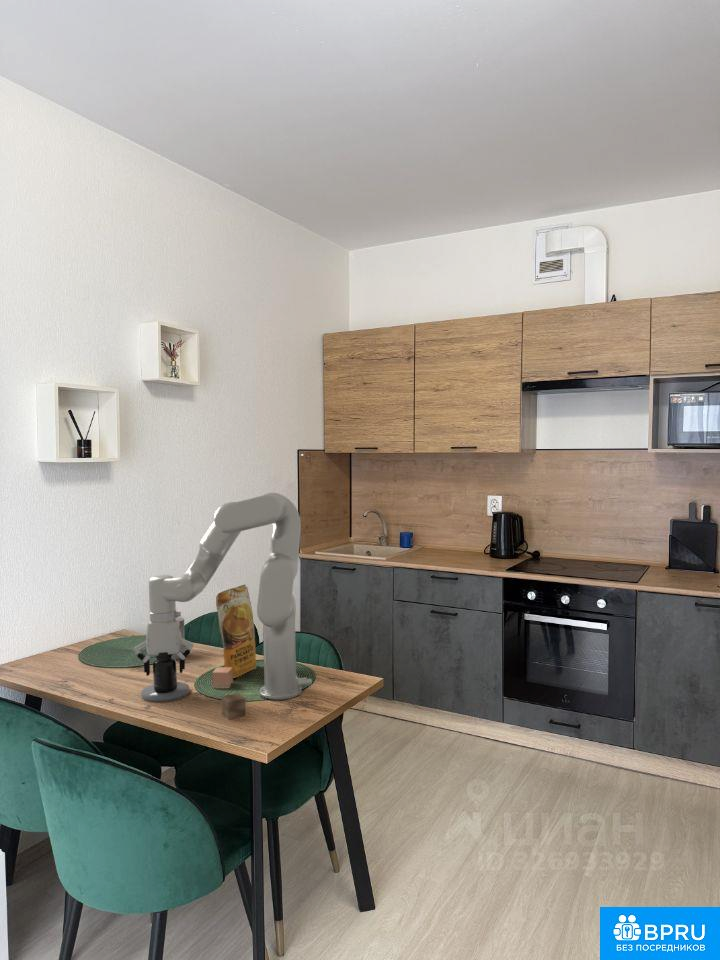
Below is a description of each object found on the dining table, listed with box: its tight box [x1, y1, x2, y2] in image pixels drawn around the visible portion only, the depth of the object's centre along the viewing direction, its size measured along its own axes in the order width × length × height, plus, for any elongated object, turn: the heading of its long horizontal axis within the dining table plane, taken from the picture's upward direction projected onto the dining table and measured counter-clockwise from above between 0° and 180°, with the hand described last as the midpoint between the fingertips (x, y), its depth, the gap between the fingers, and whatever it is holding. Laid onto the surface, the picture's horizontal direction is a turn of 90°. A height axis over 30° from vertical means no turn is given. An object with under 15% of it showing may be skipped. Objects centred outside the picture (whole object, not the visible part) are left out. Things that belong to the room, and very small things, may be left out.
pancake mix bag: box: [215, 584, 257, 679], centre depth 223 cm, size 7×19×28 cm, turn 151°
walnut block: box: [221, 692, 247, 721], centre depth 188 cm, size 5×5×5 cm
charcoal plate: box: [140, 681, 190, 703], centre depth 205 cm, size 14×14×1 cm
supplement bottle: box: [152, 652, 178, 693], centre depth 205 cm, size 7×7×12 cm
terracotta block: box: [211, 666, 234, 688], centre depth 212 cm, size 5×5×5 cm
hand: (164, 673), depth 205 cm, fingers open, 9 cm apart
